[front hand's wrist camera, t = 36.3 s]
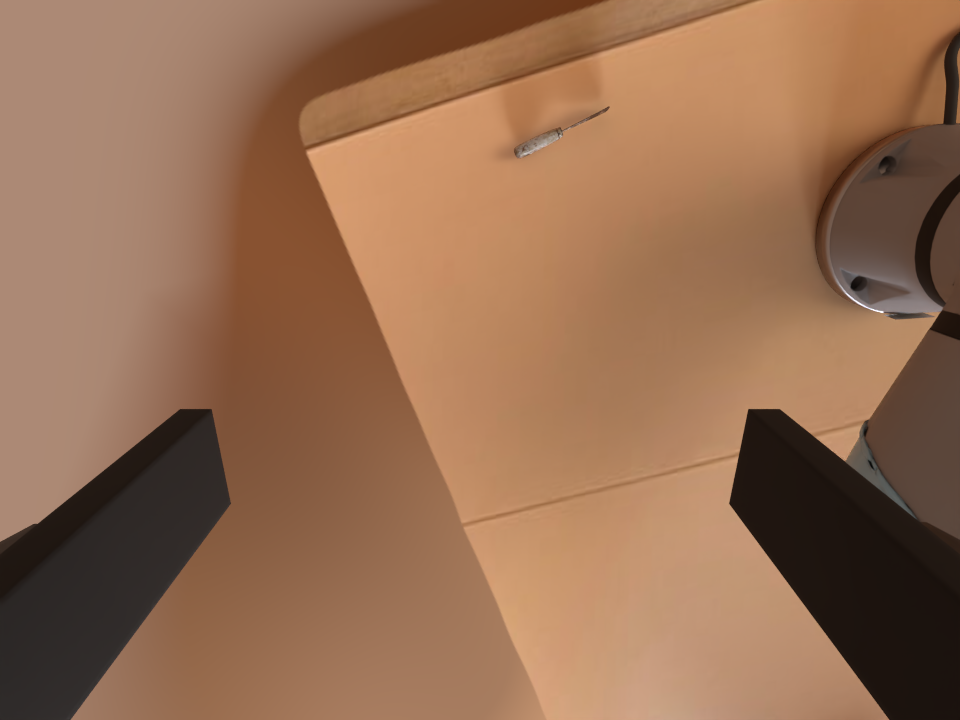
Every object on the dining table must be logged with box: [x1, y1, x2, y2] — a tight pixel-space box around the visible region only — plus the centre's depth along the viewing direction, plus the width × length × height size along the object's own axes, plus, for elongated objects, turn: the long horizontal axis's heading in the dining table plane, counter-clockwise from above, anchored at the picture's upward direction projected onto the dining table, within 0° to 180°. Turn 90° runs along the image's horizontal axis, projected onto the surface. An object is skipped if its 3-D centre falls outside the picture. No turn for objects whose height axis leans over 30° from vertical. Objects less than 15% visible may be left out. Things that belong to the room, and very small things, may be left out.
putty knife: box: [514, 107, 609, 158], centre depth 41 cm, size 1×8×2 cm, turn 116°
